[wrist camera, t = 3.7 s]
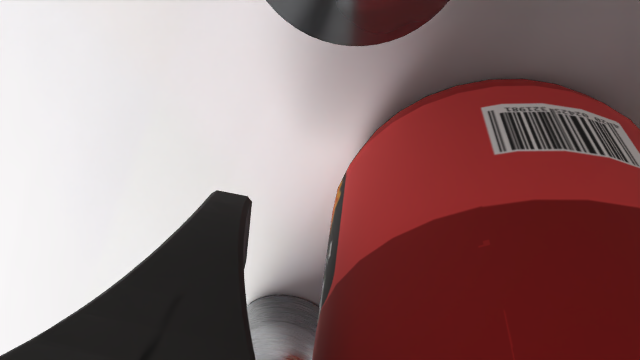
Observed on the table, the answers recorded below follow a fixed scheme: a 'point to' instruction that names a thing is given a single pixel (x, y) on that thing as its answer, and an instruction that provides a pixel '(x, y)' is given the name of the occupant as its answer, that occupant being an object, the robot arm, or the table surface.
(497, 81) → the canned food
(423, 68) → the table surface
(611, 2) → the table surface
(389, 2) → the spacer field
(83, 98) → the table surface
